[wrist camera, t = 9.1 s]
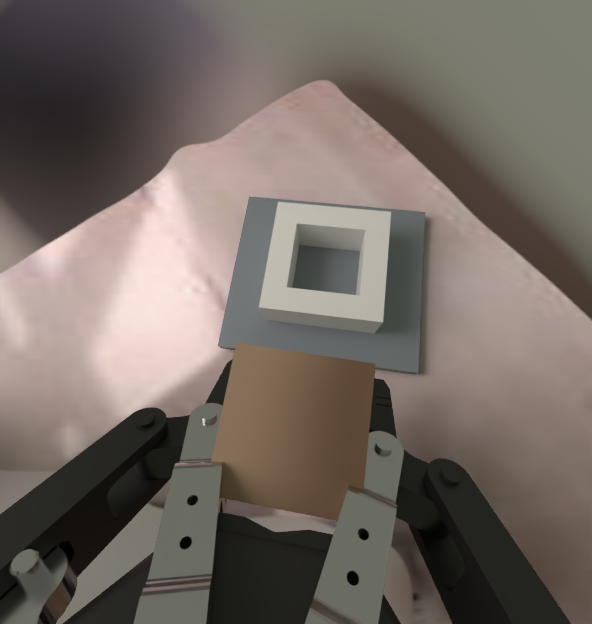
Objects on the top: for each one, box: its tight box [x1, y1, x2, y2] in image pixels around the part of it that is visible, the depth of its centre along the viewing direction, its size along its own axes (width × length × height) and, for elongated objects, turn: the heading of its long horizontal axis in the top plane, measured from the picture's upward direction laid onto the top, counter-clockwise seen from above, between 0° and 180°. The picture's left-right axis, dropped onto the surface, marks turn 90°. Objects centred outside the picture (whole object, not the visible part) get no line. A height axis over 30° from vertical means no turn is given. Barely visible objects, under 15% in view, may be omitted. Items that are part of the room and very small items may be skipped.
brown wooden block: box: [211, 343, 376, 521], centre depth 14 cm, size 4×4×10 cm
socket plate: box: [218, 197, 425, 374], centre depth 30 cm, size 18×16×5 cm
